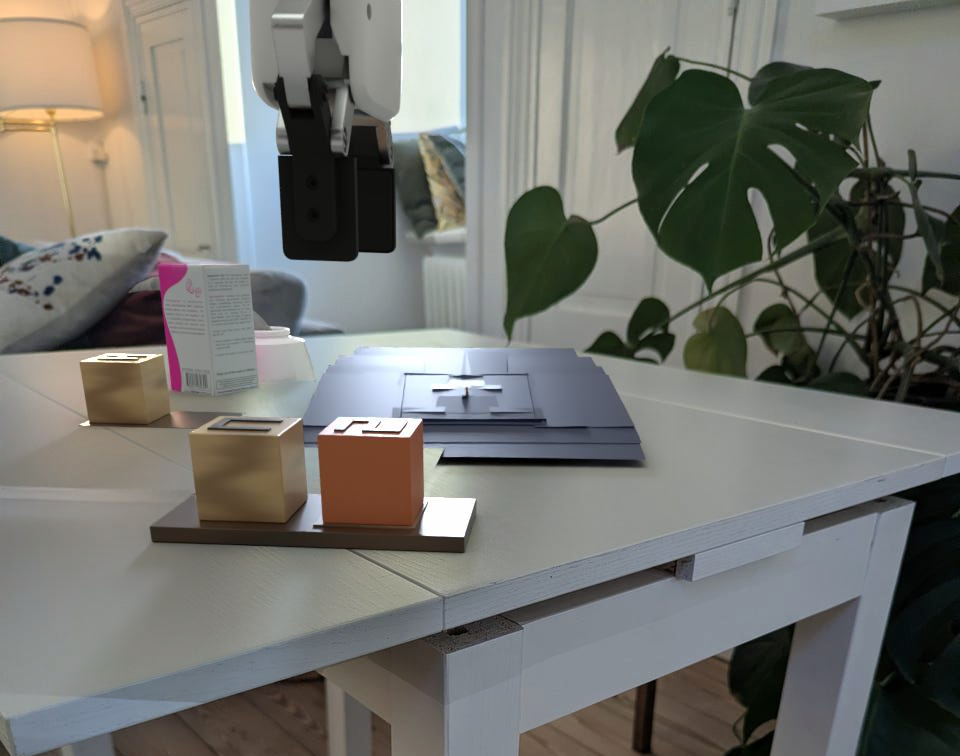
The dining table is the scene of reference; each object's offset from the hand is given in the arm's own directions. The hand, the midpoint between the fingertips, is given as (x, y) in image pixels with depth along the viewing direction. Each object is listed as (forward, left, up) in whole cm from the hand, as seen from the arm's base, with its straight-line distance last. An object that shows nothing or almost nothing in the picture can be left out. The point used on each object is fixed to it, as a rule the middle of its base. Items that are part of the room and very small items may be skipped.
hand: (345, 255), depth 45 cm
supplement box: (-21, +38, -14) cm, 45 cm away
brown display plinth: (-2, 0, -14) cm, 14 cm away
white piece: (-23, +47, -14) cm, 54 cm away
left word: (-20, +23, -14) cm, 33 cm away
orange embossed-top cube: (+1, 0, -13) cm, 13 cm away
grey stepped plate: (+3, +29, -14) cm, 32 cm away
